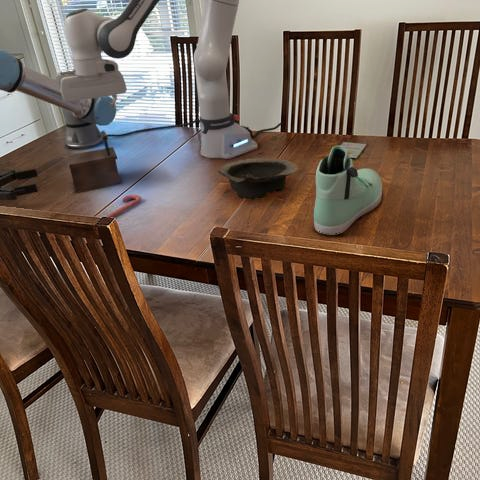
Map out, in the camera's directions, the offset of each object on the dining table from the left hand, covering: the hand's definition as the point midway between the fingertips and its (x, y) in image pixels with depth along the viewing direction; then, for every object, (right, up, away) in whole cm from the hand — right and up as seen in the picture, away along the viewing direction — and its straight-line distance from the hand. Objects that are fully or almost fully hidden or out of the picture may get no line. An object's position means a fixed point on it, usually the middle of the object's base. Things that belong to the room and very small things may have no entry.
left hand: (36, 179), depth 160 cm
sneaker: (+99, -11, -21) cm, 102 cm away
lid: (+18, +8, +4) cm, 19 cm away
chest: (+18, 0, +8) cm, 20 cm away
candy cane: (+31, -10, -11) cm, 35 cm away
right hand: (+22, +22, -3) cm, 31 cm away
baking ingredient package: (+108, +13, +17) cm, 110 cm away
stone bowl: (+74, -3, -5) cm, 74 cm away
